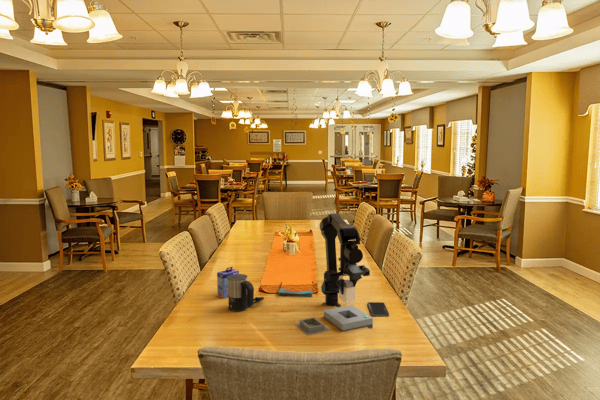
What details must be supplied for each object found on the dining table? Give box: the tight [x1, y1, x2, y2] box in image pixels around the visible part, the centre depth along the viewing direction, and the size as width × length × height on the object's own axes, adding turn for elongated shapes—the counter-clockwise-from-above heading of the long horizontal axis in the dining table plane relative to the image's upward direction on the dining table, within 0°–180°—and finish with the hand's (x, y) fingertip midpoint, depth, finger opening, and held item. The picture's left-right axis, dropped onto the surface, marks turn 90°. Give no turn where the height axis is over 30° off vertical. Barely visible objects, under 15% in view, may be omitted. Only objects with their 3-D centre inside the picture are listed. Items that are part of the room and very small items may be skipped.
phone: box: [367, 301, 390, 317], centre depth 202 cm, size 8×1×15 cm
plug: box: [338, 279, 356, 304], centre depth 186 cm, size 6×4×8 cm, turn 24°
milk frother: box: [227, 273, 265, 312], centre depth 207 cm, size 14×16×15 cm
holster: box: [294, 316, 330, 336], centre depth 182 cm, size 12×10×3 cm
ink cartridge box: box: [216, 266, 240, 300], centre depth 222 cm, size 10×6×14 cm, turn 137°
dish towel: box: [277, 287, 314, 298], centre depth 231 cm, size 17×23×2 cm
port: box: [323, 304, 374, 332], centre depth 188 cm, size 16×14×4 cm
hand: (346, 293), depth 186 cm, fingers closed on plug, 4 cm apart
